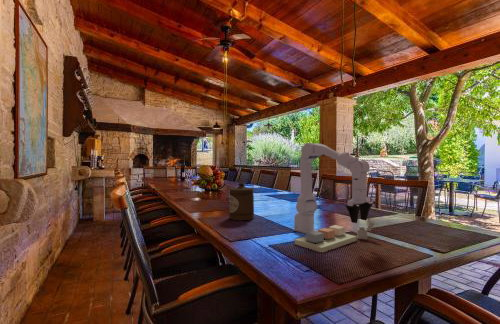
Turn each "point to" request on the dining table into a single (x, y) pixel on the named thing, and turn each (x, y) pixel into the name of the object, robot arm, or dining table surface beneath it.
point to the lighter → (364, 231)
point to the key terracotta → (327, 233)
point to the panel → (326, 242)
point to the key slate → (314, 236)
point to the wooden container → (241, 203)
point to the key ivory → (338, 229)
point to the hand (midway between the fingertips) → (359, 221)
